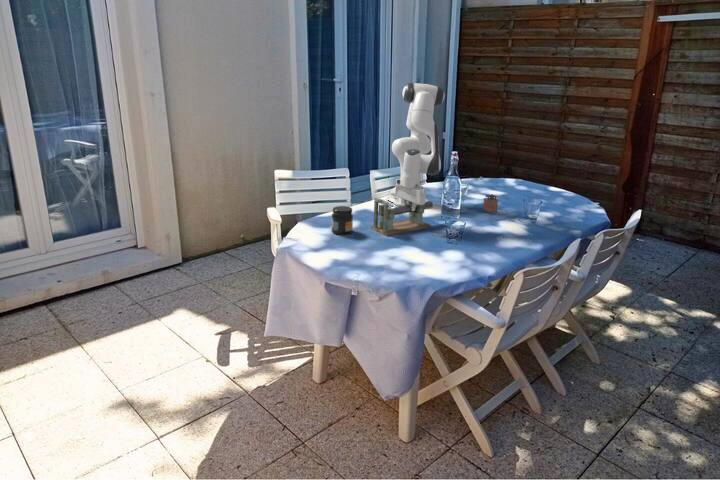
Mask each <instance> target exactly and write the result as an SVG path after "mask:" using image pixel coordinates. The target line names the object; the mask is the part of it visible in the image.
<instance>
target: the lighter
mask: <svg viewBox="0 0 720 480" xmlns="http://www.w3.org/2000/svg"><path fill="white" fill-rule="evenodd" d="M498 203H499V198H497V194H488V193H487V194H485V197H484V198H483V206H482V207H483V208H482V212H483V213H496V214H497V213H498Z"/></svg>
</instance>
